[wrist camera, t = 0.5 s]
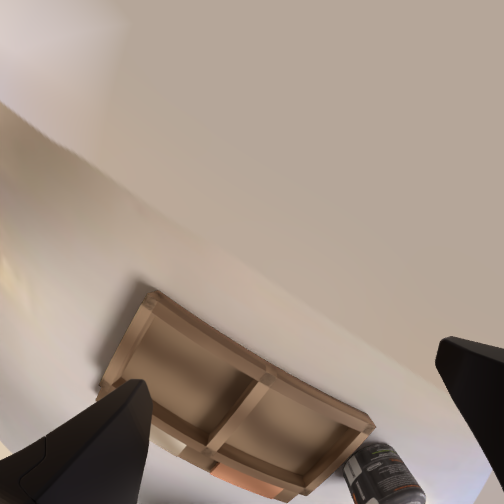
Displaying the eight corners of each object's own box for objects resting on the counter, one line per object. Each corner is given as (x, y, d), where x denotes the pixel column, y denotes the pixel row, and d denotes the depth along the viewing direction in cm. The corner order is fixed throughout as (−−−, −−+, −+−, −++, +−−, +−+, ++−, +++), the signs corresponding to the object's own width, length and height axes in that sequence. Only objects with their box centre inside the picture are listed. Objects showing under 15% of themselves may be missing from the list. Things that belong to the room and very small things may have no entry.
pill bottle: (330, 471, 22) (356, 548, 11) (373, 434, 22) (420, 505, 11) (364, 486, 22) (394, 553, 11) (404, 453, 22) (449, 514, 11)
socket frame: (286, 496, 22) (288, 511, 20) (100, 395, 23) (88, 405, 20) (367, 414, 22) (376, 426, 20) (158, 290, 23) (147, 293, 20)
